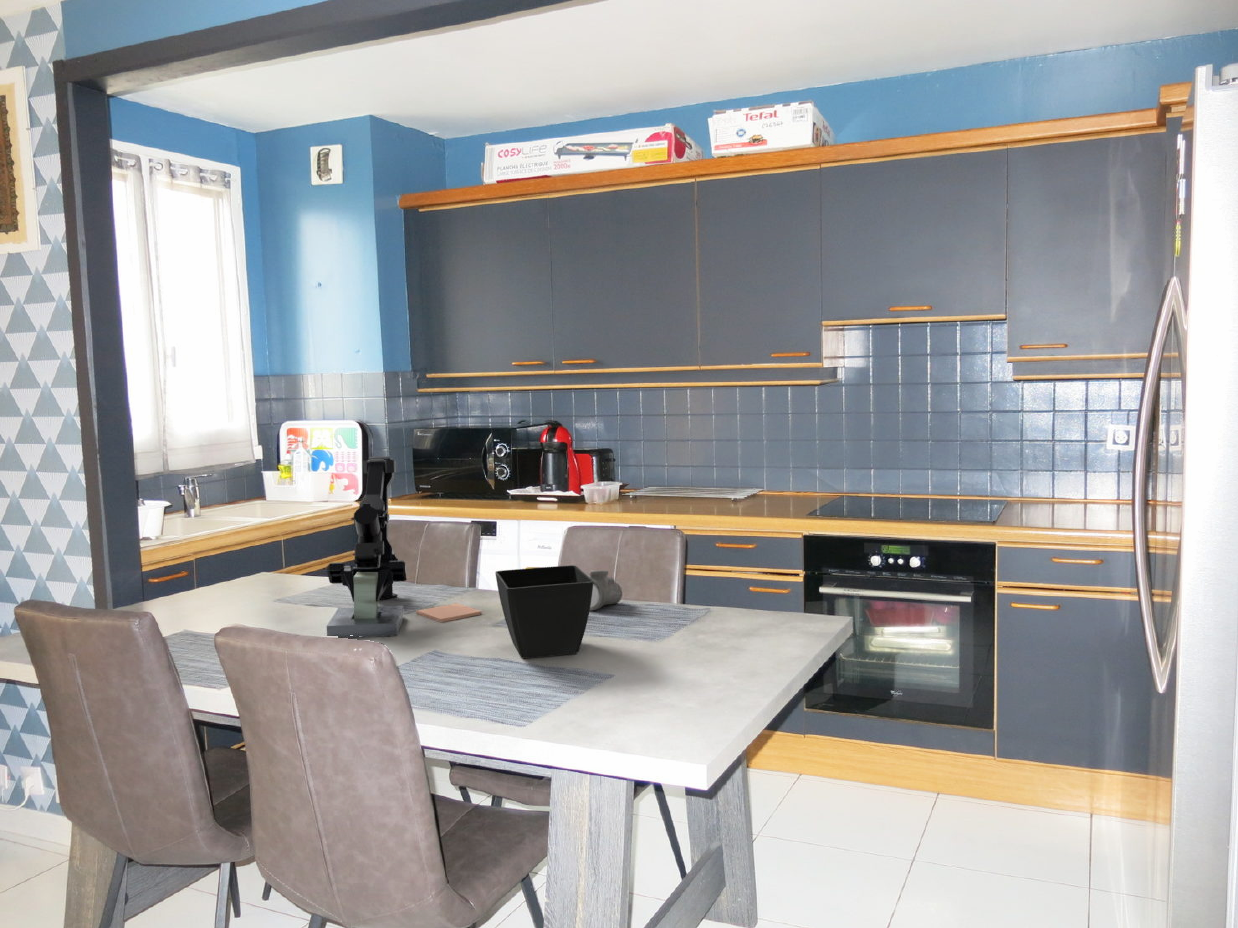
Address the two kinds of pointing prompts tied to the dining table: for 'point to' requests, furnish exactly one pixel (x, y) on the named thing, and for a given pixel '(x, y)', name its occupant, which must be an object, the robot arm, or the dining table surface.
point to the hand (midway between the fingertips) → (365, 601)
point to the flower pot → (545, 608)
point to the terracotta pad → (448, 612)
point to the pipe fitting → (604, 590)
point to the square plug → (365, 595)
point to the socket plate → (366, 623)
